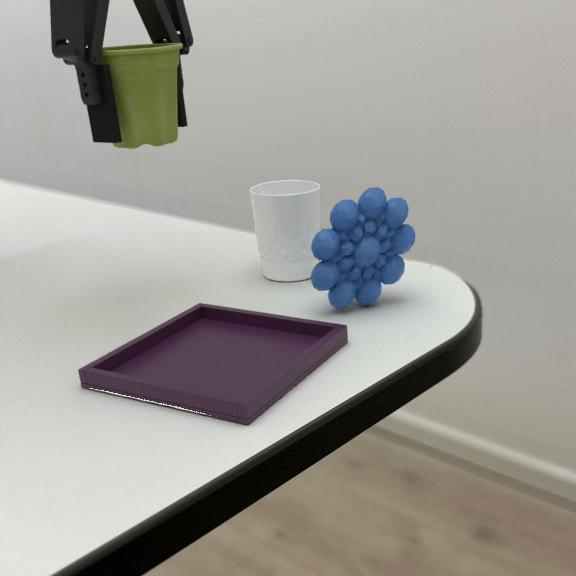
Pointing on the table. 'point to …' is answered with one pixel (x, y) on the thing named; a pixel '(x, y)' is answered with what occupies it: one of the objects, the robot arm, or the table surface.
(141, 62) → the plant pot
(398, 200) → the blue flower ornament
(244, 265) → the table surface
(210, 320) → the tray
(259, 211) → the white cup
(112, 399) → the table surface
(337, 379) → the table surface
